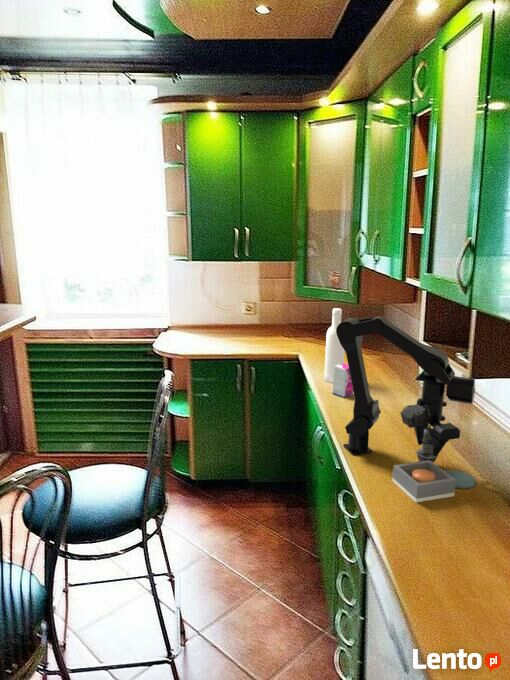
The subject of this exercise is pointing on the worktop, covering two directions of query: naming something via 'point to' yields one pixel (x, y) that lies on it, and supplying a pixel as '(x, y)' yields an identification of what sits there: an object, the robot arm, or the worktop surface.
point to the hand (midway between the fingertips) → (427, 450)
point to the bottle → (333, 347)
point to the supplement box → (342, 381)
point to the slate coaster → (462, 479)
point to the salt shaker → (426, 447)
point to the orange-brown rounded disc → (423, 475)
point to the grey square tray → (426, 490)
